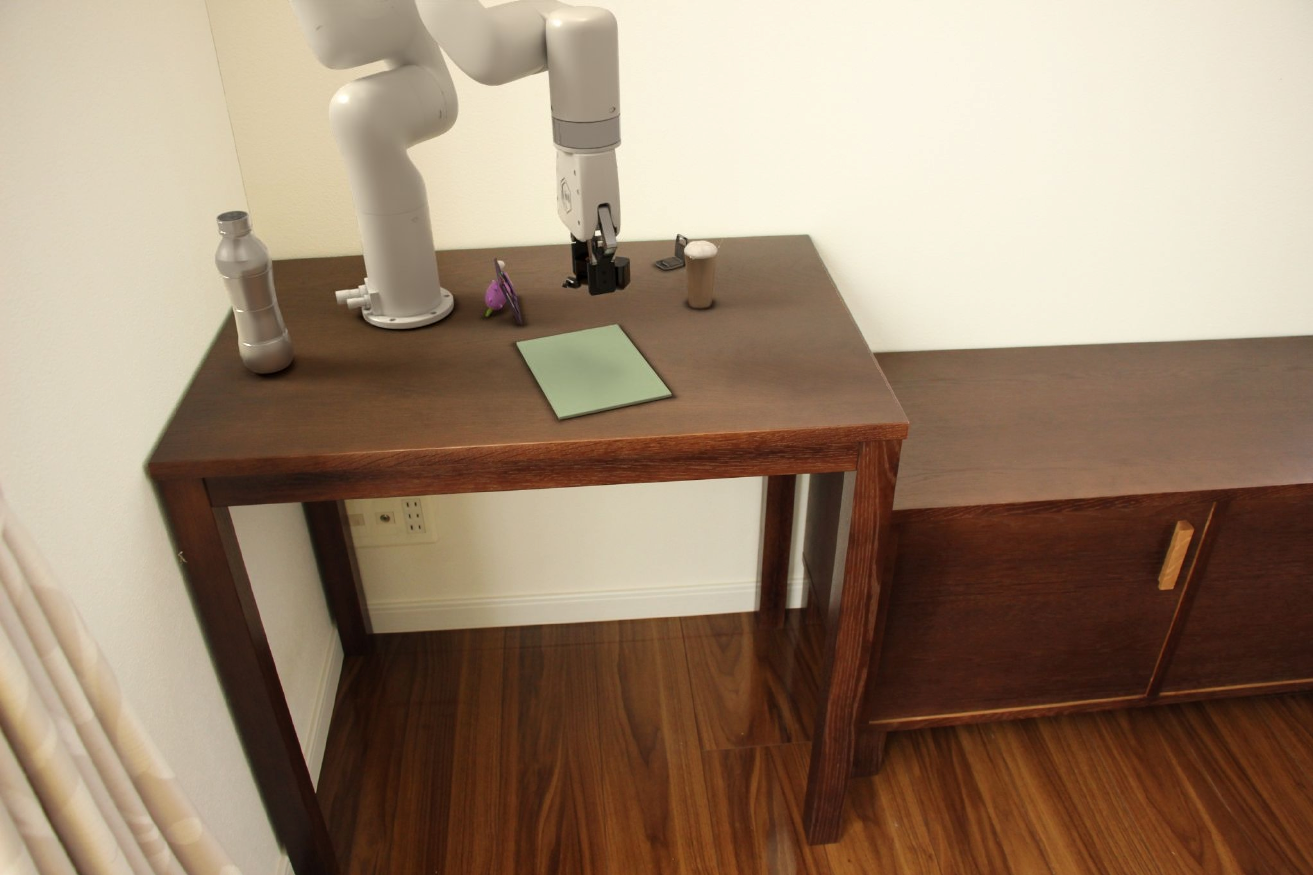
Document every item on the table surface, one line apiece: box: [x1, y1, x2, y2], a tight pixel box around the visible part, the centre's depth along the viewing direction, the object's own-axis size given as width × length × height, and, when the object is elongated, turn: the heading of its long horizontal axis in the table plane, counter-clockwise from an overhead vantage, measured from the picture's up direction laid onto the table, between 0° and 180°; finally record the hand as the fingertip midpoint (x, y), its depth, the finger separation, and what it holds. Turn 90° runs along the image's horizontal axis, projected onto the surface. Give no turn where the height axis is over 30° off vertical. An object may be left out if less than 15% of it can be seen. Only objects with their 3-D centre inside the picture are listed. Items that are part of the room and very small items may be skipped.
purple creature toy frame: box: [484, 257, 523, 326], centre depth 136 cm, size 7×5×9 cm
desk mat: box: [516, 323, 673, 421], centre depth 124 cm, size 14×20×1 cm
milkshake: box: [684, 238, 724, 309], centre depth 137 cm, size 4×5×10 cm
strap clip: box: [654, 233, 690, 270], centre depth 151 cm, size 8×3×4 cm, turn 123°
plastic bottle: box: [214, 210, 295, 375], centre depth 120 cm, size 6×7×20 cm
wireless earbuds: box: [561, 252, 631, 291], centre depth 117 cm, size 5×7×3 cm, turn 70°
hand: (594, 281), depth 118 cm, fingers closed on wireless earbuds, 5 cm apart
